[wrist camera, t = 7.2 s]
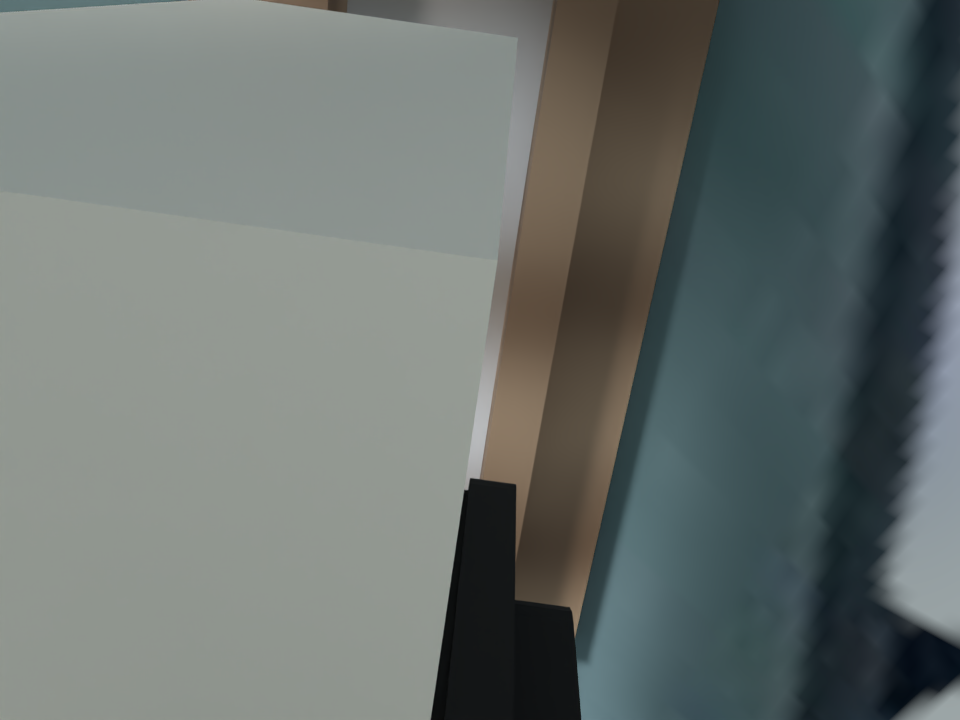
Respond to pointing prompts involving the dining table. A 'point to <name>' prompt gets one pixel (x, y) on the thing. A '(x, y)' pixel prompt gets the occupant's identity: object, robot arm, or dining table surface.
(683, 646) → the dining table surface
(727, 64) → the dining table surface
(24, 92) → the white rectangular block
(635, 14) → the track frame
